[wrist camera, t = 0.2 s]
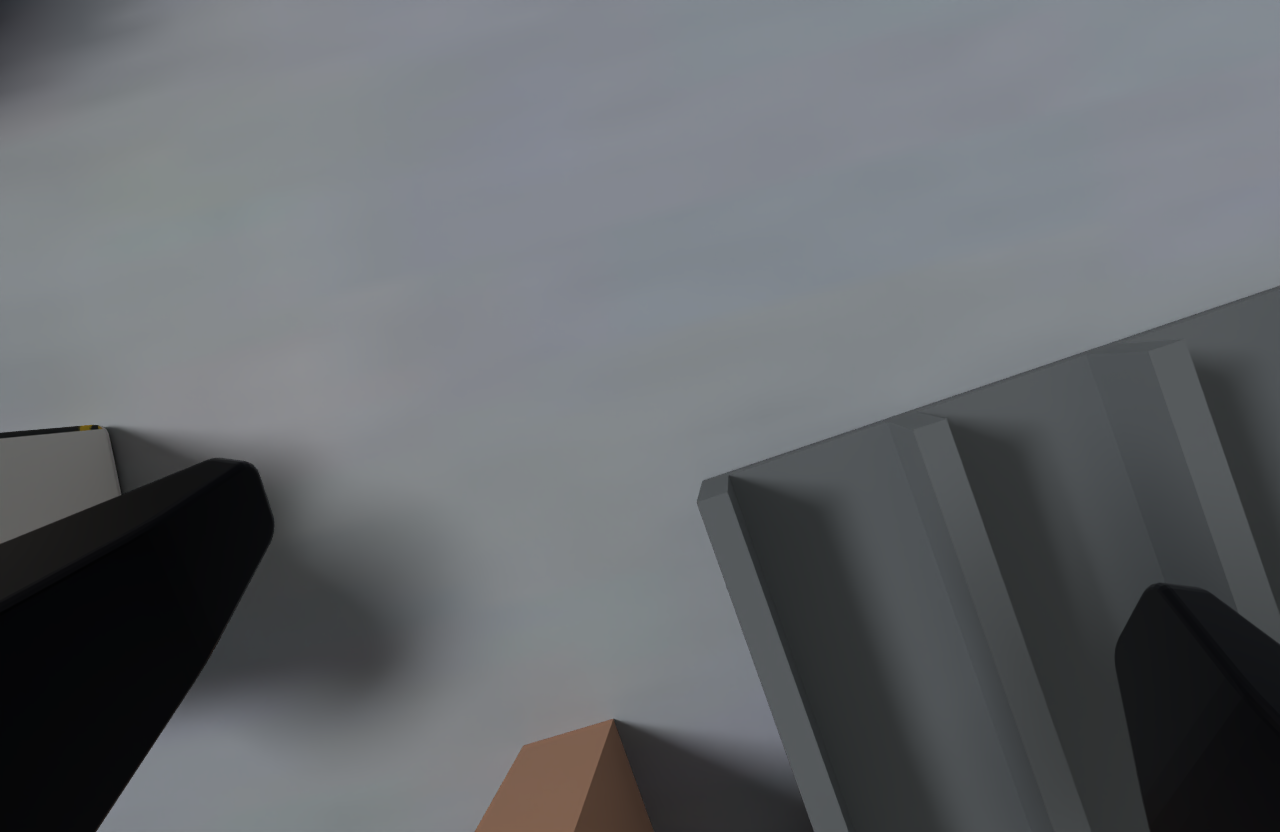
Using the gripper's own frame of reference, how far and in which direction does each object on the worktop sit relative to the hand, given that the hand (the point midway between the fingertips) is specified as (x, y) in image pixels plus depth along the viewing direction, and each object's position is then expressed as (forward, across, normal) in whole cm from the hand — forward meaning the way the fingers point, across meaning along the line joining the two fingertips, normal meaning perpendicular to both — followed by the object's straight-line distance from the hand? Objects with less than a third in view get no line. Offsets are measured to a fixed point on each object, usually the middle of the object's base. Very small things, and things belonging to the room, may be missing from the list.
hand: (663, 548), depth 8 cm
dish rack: (+11, -10, +11) cm, 18 cm away
